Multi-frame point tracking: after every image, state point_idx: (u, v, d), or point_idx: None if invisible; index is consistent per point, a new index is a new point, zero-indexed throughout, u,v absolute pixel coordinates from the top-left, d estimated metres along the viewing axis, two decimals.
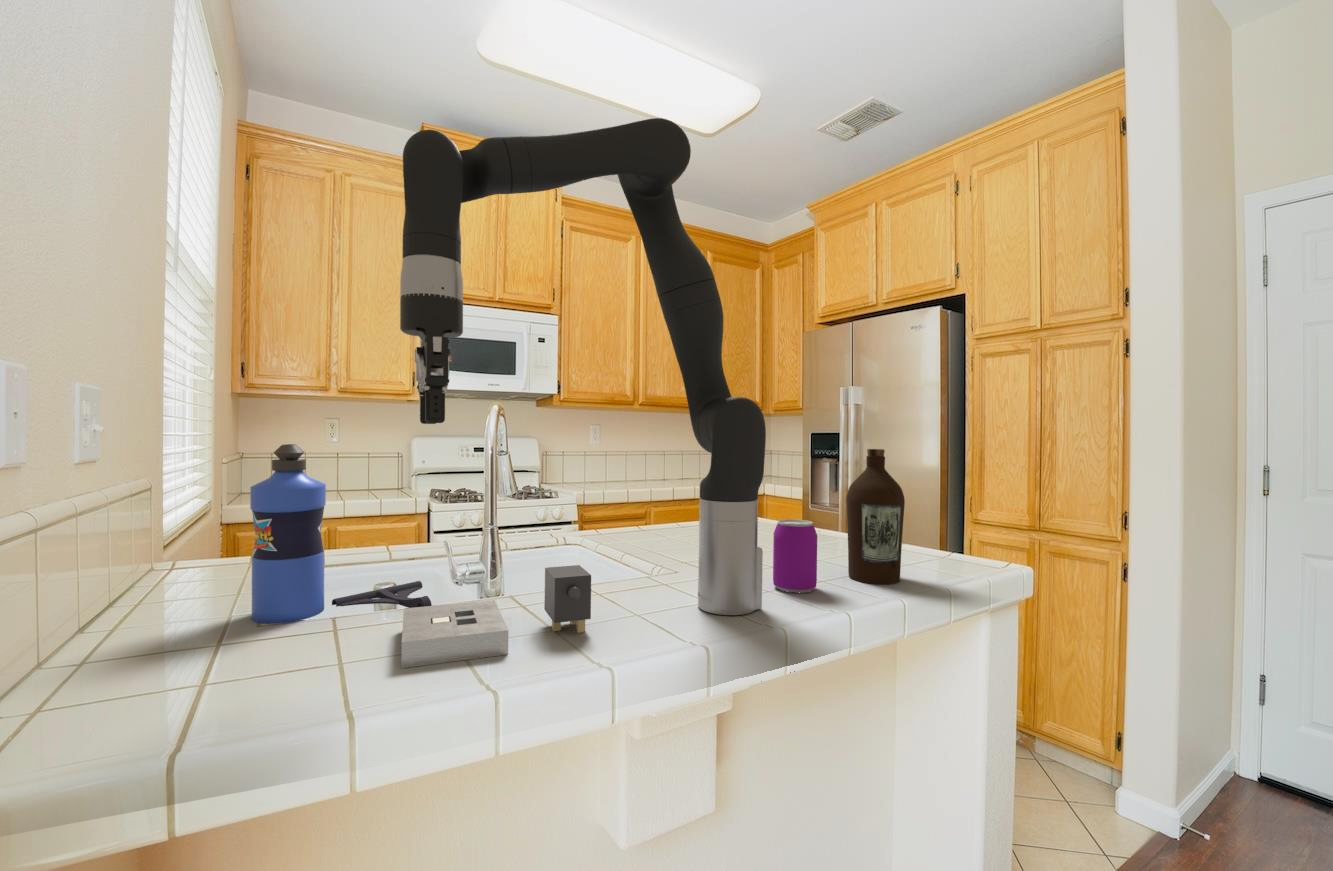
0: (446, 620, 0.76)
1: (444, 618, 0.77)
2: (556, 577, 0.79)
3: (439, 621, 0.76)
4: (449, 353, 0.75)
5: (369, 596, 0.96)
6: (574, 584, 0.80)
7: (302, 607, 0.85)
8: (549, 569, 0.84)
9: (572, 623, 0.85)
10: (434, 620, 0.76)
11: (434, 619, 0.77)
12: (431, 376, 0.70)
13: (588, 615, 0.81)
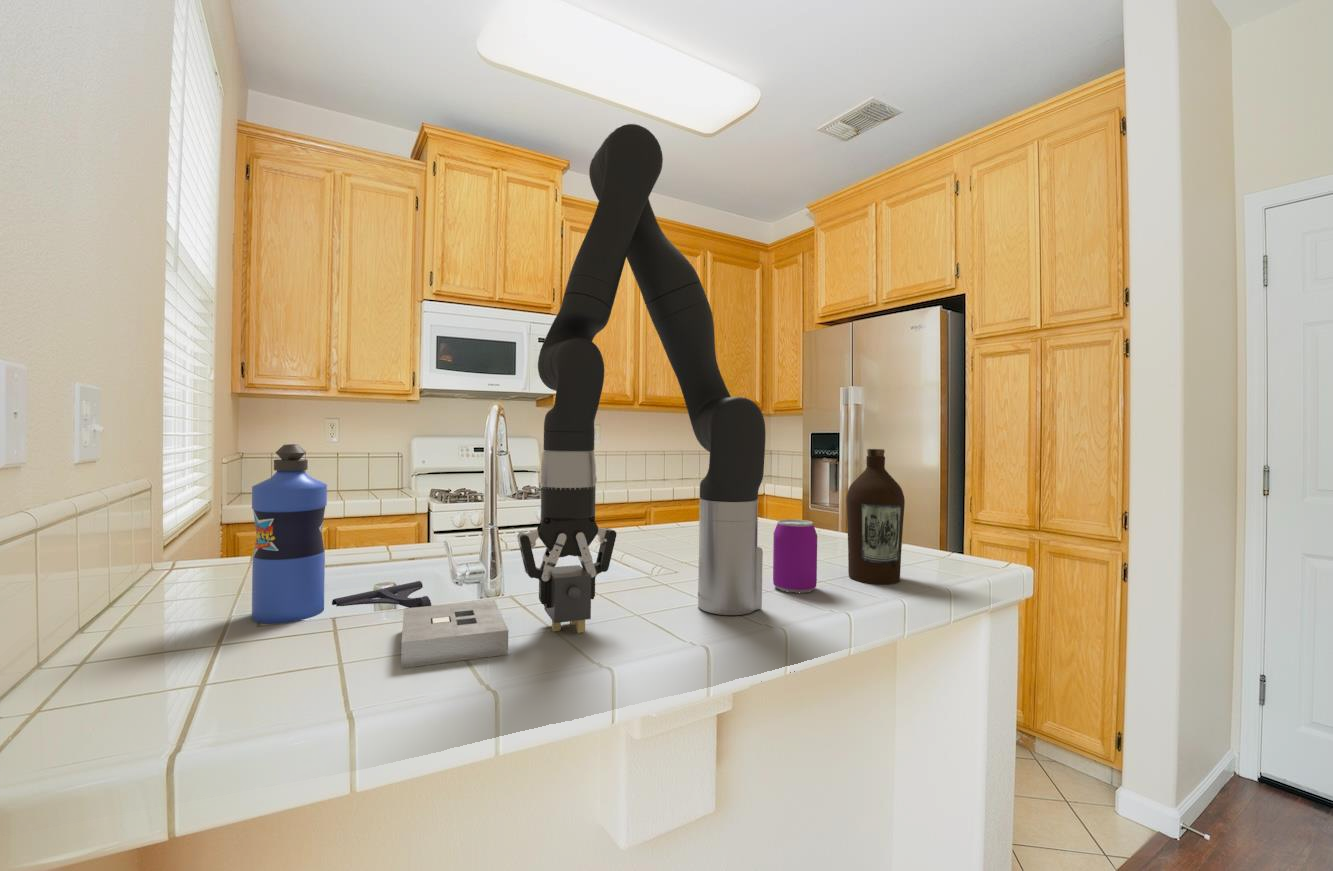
0: (446, 620, 0.76)
1: (444, 618, 0.77)
2: (556, 577, 0.79)
3: (439, 621, 0.76)
4: None
5: (369, 596, 0.96)
6: (574, 584, 0.80)
7: (303, 607, 0.85)
8: None
9: (572, 623, 0.85)
10: (434, 620, 0.76)
11: (434, 619, 0.77)
12: None
13: (588, 615, 0.81)
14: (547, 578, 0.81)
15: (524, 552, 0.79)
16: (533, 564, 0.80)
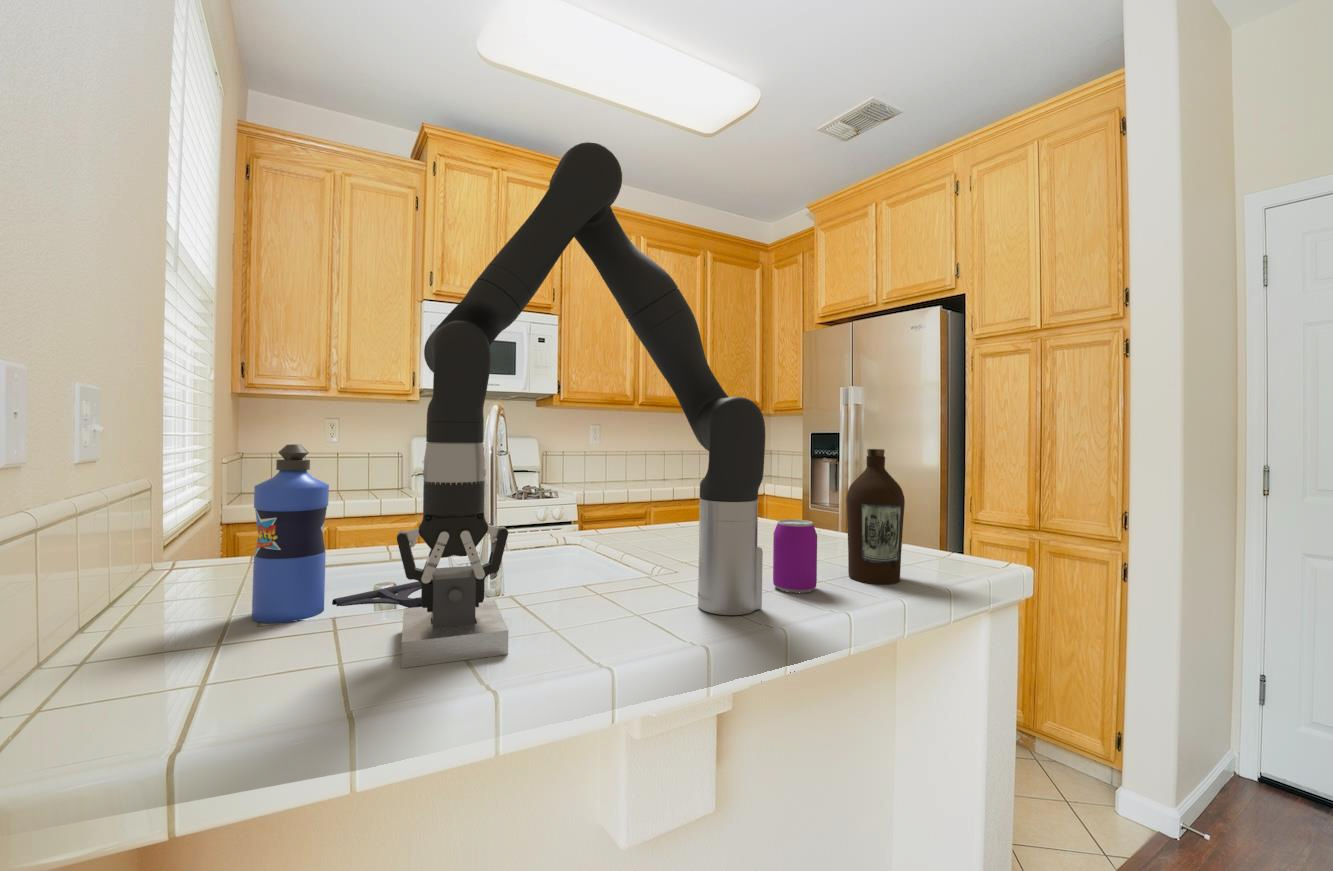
0: None
1: None
2: (436, 579, 0.74)
3: None
4: None
5: (369, 596, 0.96)
6: (456, 586, 0.74)
7: (304, 606, 0.85)
8: (435, 570, 0.78)
9: None
10: None
11: None
12: None
13: (472, 620, 0.75)
14: (428, 580, 0.75)
15: (401, 551, 0.74)
16: (412, 565, 0.74)
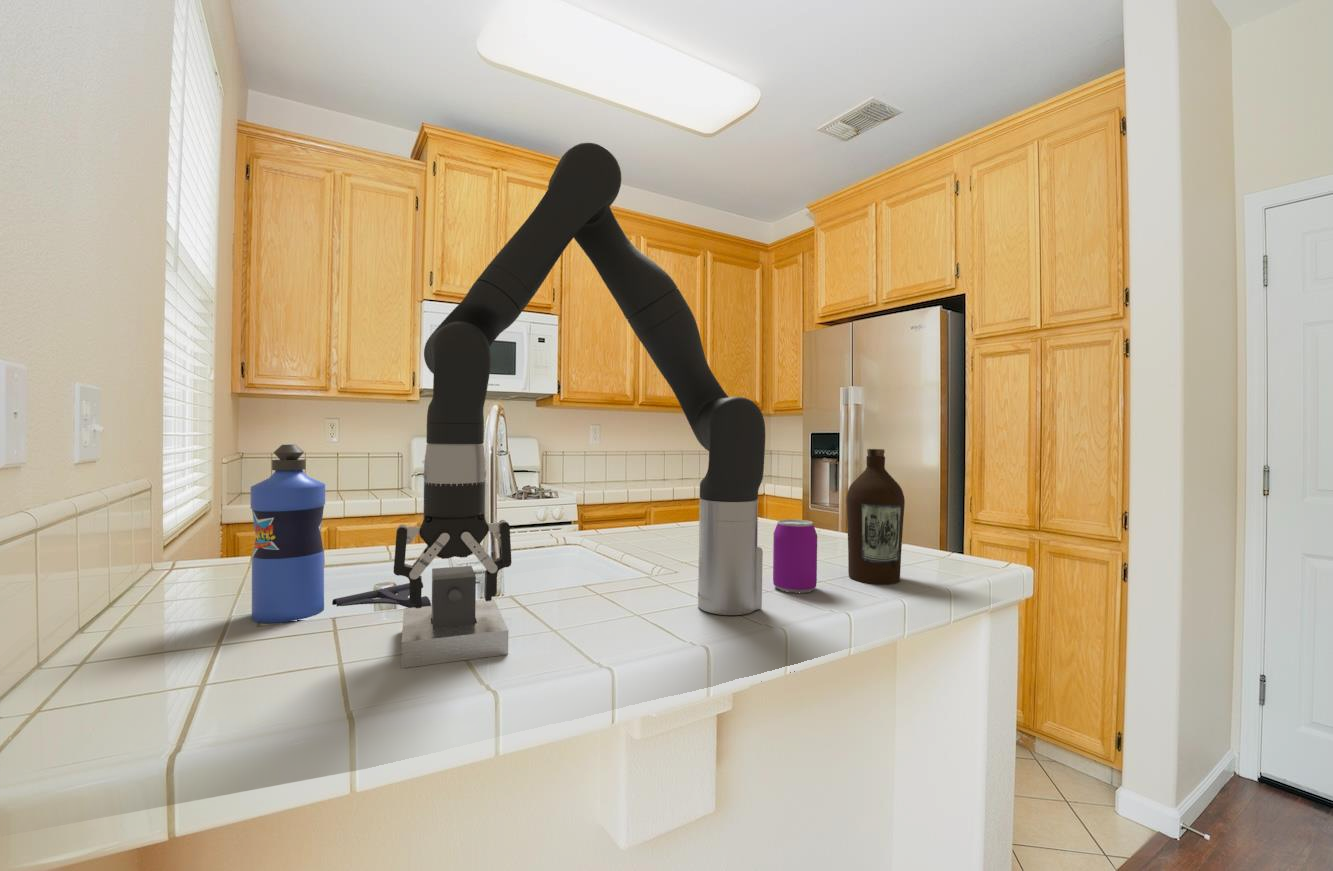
0: None
1: None
2: (435, 579, 0.74)
3: None
4: None
5: (369, 596, 0.96)
6: (455, 586, 0.74)
7: (304, 606, 0.85)
8: (435, 570, 0.78)
9: None
10: None
11: None
12: None
13: (472, 620, 0.75)
14: (416, 576, 0.74)
15: (396, 545, 0.73)
16: (402, 561, 0.74)
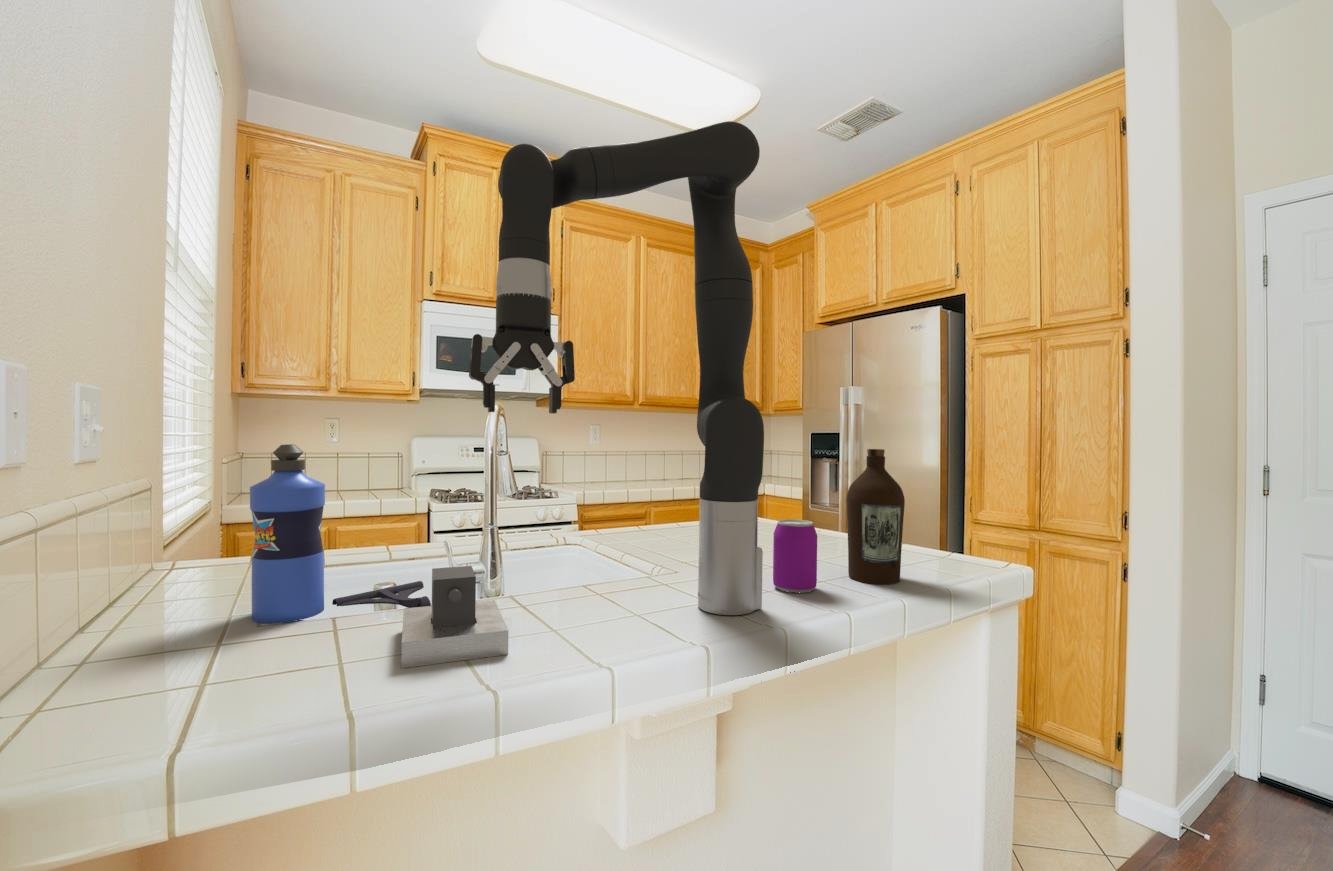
0: None
1: None
2: (435, 579, 0.74)
3: None
4: None
5: (370, 596, 0.96)
6: (455, 586, 0.74)
7: (305, 606, 0.85)
8: (435, 570, 0.78)
9: None
10: None
11: None
12: None
13: (472, 620, 0.75)
14: (490, 380, 0.80)
15: (473, 350, 0.79)
16: (478, 365, 0.80)
